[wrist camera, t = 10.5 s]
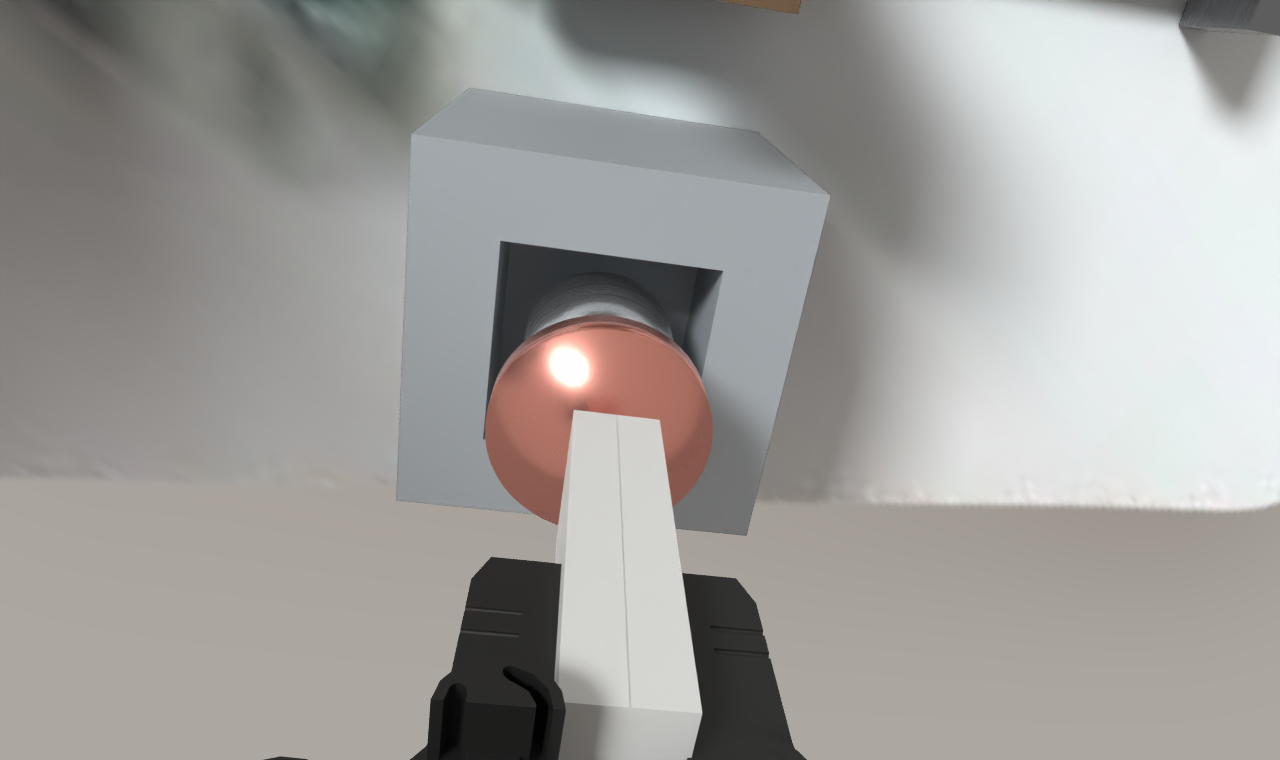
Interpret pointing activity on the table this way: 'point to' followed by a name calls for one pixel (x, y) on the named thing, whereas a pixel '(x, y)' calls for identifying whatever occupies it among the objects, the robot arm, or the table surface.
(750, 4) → the carriage
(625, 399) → the plunger
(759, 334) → the housing
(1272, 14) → the rail
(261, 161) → the table surface
